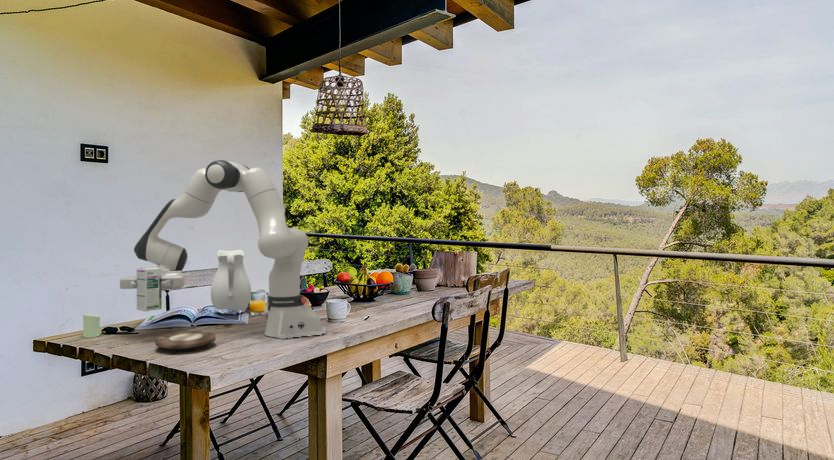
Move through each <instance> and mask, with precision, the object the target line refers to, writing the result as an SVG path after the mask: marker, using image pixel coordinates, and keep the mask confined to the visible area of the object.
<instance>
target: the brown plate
mask: <svg viewBox="0 0 834 460" xmlns="http://www.w3.org/2000/svg"><path fill="white" fill-rule="evenodd" d="M216 339H217V338H216V334H215V333H213V332H211V331H199V330H198V331H197V330H196V331H181V332H175V333H169V334H164V335H161V336H159V337H157V338H156V339H155V344H154V345H155V346H156V347H159V348H163V349H169V348H188V347H196V346H201V345H203V346H205V345H208V344H211V343H213V342H214V341H216Z"/></svg>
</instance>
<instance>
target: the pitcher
mask: <svg viewBox="0 0 834 460" xmlns="http://www.w3.org/2000/svg"><path fill="white" fill-rule="evenodd" d="M216 256H217V259H218V267H217V270H216V272H215V275H214V277H213V279H212V284H211V288H210V300H211V303H212V306H213V308H214V309H215V308H217V309H233V310H242V311H244V312H246V310H247V308H248V306H249V304H250V301H251V297H252V287H251V282H250V278H249V276H248V274H247V271H246V269H245V265H244V257H245V252H244V251H243V250H242V249H235V250H224V249H219V250H218V251H217V253H216Z"/></svg>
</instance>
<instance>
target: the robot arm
mask: <svg viewBox="0 0 834 460" xmlns="http://www.w3.org/2000/svg"><path fill="white" fill-rule="evenodd" d="M221 191H226V192H234V193H244V195H245V197H246V199H247V202H248V204H249V206H250V208H251V211H252V213H253V215H254V217H255V221H256V222H257V223H256V224H257V227H258V233H259V238H258V241H257V246H258V250H259V253H261V255H263V256H264V257H266V258H268V259H269V258H270V259H273V260H274V262H273V265H272V268H271V270H270V272H269V274H268V296H267V304H266V305H267V307H266V308H267V311H268V313H267V320H266V326H265V329H264V336H267V337H270V338H271V337H272V338H278V339H280V340H281V339H282V340H285V339H286V338H288V339H294V338H293V337H299V338H302V337H301V336H308V335H316V334H322V333H324V332H326V330H327V327H326V326H324V325H322V321H321V318H320V316H319V314H318V312H316V311H314V309H312V308H311V307H309V306H308V305H306V303H307V297H306V296H305V295H302V294H300V292H301V286H300V285H301V283H300V282H301V271H302V270H301V269H302V267H303V266H302V265H303V261H304V255H305V252H306V251H307V249H308V246H309V238H308V235H307V234H306V232H304V231H303V230H301V229H300V228H299V229H298V228H296V227H288V224H287V222H286V217H285V214H286V207H285V204H284V202H283V201H282V199H281V198H282V197H280V193H279V192H278V190H277V188H276V185H275V184H274V182H273V180H272V179H271V177H270V176H269V174H268V173H267V172H266V170H265V169H263V168H261V167H250V168H249V167H248V166H246V165H244V164H240V163H237V162H234V161H232V160H231V161H230V160H229V161H228V160H225V159H217V160H214V161H212V162H210V163H209V164H208V165H207V166H206V167H203V168H199V169H198V170H196V171H195V173H194V174H193V175H192V177H191V179H190V180H189V181H188V184H187V185H186V187H185V189H184V191H183V192H182V194H181V195H180V196H179V197H178V198H176V199H174V198H172V199H170V200H169V201H168V202H167V203H166V204H165V205H164V207H162V209H161V210H160V212H159V213H158V215H157V216H156V217H155V219H154V220H153V222H151V224H150V226H149V227H148V228H147V229H146V231H145V233H143V235H141V237H139V238H138V240H137V241H136V242H135V244H134V248H133V252H134V254H135V256H136V257H137V259H139V260H142V261H145V262H149V263H152V264H154V265H157V266H156V267H160V268H162V282H161V284H162V285H161V287H162V292H164V291H167V290H174V289H176V290H177V289H182V288H184V283H185V281H184V278H185V277H184V273H183V269H184V268H185V266H186V264H187V262H188V258H189V257H188V252H187V249H186V247H183V246H180V245H178V244H176V243H172V242H170V241H168V240H166V239H163V238H160V237H159V234H160V232H162V229H163V228H164V227H165V226H166V224H167V223H168V222H169V220H171V219H175V218H183V219H199V218H203V217H204V216H206V215H208V213H209V212H210V211H211V208H212V207H213V205H214V202H215V200H216V198H217V196H218V194H219V193H220V192H221ZM119 289H120V290H131V289H133V290H137V275H135V276H126V277H122V278H120V279H119Z"/></svg>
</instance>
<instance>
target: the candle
mask: <svg viewBox="0 0 834 460" xmlns="http://www.w3.org/2000/svg"><path fill="white" fill-rule="evenodd" d="M82 314H83V313H82ZM82 317H83V318H82V327H83V328H82V330H83V332H82V334H83V338H84V339H86V338H88V339H89V338H97V337H100V336H101V329H100V328H101V319H100V318H101V317H100V316H99V315H93V314H87V313H84V314H83V315H82Z"/></svg>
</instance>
